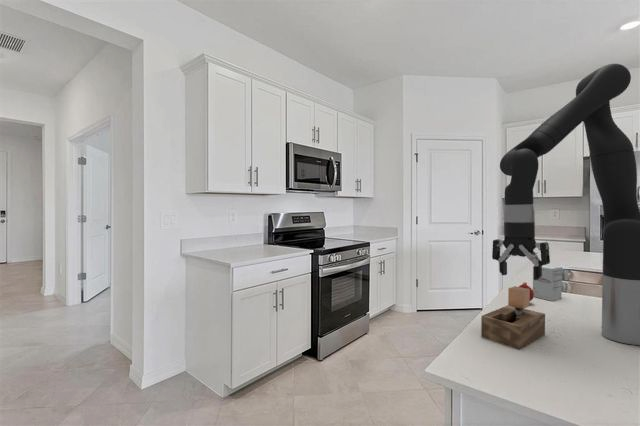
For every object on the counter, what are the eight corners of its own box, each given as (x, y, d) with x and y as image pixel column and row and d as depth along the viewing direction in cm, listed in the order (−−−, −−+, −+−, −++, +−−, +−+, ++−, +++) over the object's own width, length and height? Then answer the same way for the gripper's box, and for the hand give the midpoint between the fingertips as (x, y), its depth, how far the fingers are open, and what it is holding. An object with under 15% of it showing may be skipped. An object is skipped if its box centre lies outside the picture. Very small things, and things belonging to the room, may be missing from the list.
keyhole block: (544, 334, 94) (545, 313, 93) (519, 349, 84) (519, 326, 84) (508, 324, 102) (508, 305, 102) (481, 336, 92) (481, 315, 92)
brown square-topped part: (529, 333, 94) (529, 289, 94) (522, 337, 92) (523, 291, 92) (514, 329, 98) (514, 286, 97) (508, 332, 95) (508, 288, 95)
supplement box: (531, 296, 130) (532, 265, 130) (542, 294, 134) (542, 263, 134) (552, 301, 124) (552, 268, 124) (562, 298, 127) (562, 266, 127)
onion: (532, 307, 118) (533, 285, 118) (514, 304, 121) (514, 282, 121) (534, 303, 122) (534, 281, 122) (516, 300, 126) (516, 279, 126)
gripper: (553, 220, 90) (553, 279, 90) (499, 219, 101) (500, 271, 102) (542, 221, 86) (543, 283, 86) (487, 220, 97) (488, 275, 97)
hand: (519, 277), depth 94 cm, fingers open, 8 cm apart
